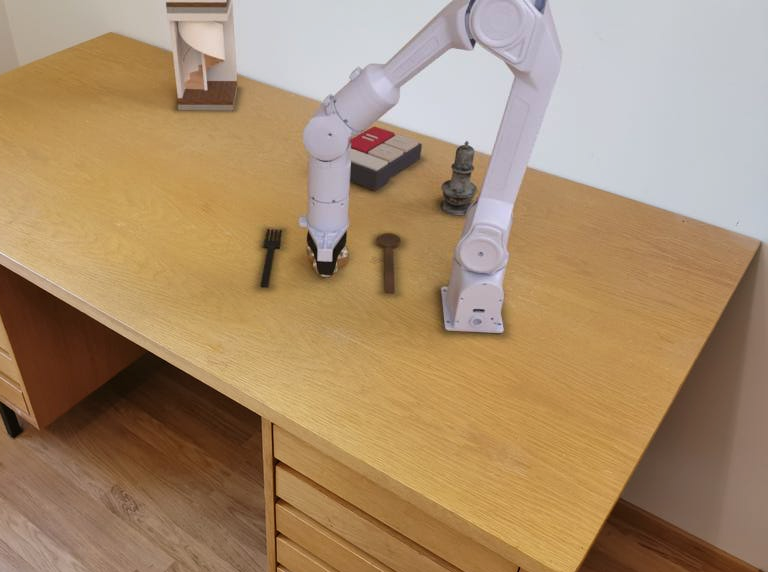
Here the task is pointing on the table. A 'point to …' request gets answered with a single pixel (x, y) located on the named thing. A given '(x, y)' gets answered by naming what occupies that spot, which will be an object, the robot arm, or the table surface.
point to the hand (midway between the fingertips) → (325, 272)
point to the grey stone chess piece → (459, 183)
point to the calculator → (380, 156)
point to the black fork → (270, 254)
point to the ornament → (341, 262)
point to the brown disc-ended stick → (389, 258)
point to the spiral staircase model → (203, 53)
